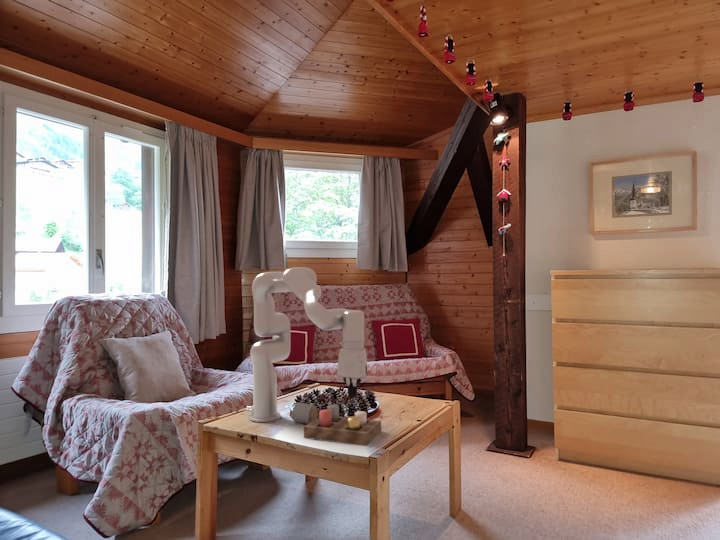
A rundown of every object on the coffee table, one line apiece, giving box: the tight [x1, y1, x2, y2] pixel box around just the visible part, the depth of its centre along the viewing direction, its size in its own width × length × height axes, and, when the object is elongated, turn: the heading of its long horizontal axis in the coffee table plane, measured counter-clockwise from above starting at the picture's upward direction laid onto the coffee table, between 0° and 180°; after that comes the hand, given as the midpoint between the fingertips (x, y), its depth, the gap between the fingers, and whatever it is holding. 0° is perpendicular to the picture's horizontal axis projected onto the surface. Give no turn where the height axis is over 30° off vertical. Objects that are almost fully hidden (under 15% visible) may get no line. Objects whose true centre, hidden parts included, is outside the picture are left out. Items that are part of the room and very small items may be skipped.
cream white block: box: [354, 410, 368, 425], centre depth 189 cm, size 4×4×5 cm
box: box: [303, 416, 382, 446], centre depth 188 cm, size 24×16×4 cm, turn 70°
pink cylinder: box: [318, 408, 332, 427], centre depth 186 cm, size 4×4×5 cm
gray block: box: [326, 404, 340, 422], centre depth 193 cm, size 4×4×5 cm
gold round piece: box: [348, 415, 360, 431], centre depth 183 cm, size 4×4×5 cm
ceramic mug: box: [291, 401, 319, 425], centre depth 204 cm, size 11×8×8 cm
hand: (352, 396), depth 183 cm, fingers closed
